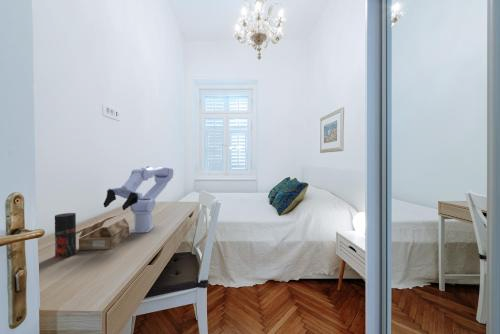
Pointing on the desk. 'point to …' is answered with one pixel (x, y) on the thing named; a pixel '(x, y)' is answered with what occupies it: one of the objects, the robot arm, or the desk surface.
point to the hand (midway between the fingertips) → (114, 207)
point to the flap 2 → (117, 227)
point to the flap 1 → (92, 227)
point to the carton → (102, 239)
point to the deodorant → (65, 235)
